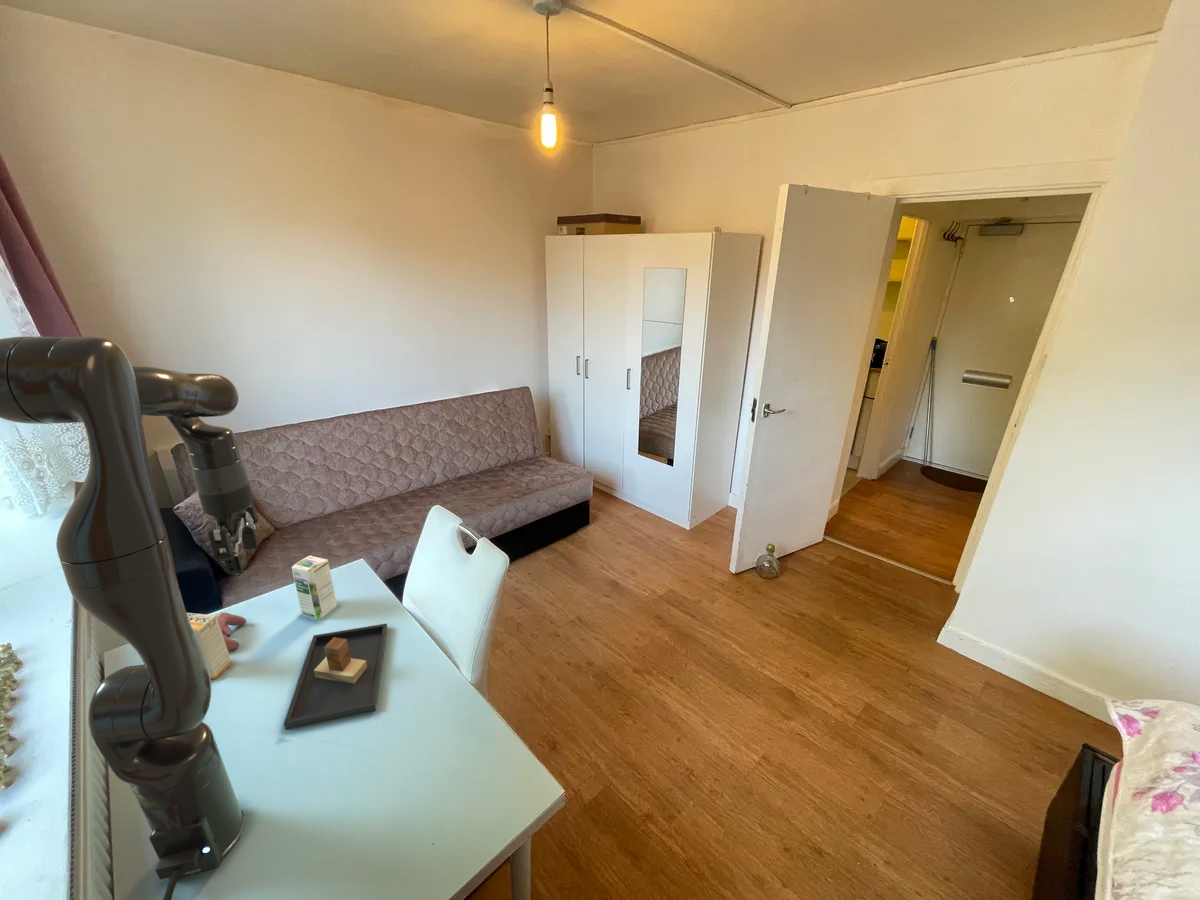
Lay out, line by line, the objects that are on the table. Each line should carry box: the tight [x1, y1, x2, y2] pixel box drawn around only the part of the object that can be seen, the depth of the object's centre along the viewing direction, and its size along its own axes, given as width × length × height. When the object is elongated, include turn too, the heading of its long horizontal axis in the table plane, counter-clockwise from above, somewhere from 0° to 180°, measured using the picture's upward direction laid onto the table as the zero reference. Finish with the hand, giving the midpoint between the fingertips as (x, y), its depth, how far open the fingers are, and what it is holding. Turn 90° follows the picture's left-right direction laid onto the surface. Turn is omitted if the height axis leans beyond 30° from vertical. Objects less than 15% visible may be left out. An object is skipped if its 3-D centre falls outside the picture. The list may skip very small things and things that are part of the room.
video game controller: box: [215, 612, 247, 651], centre depth 111 cm, size 10×5×7 cm, turn 25°
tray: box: [283, 623, 389, 730], centre depth 104 cm, size 24×16×2 cm, turn 17°
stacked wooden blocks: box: [314, 637, 367, 684], centre depth 102 cm, size 9×4×8 cm, turn 81°
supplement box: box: [186, 612, 233, 680], centre depth 102 cm, size 8×5×13 cm, turn 84°
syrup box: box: [291, 555, 338, 621], centre depth 119 cm, size 6×6×14 cm
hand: (244, 559), depth 94 cm, fingers open, 8 cm apart
